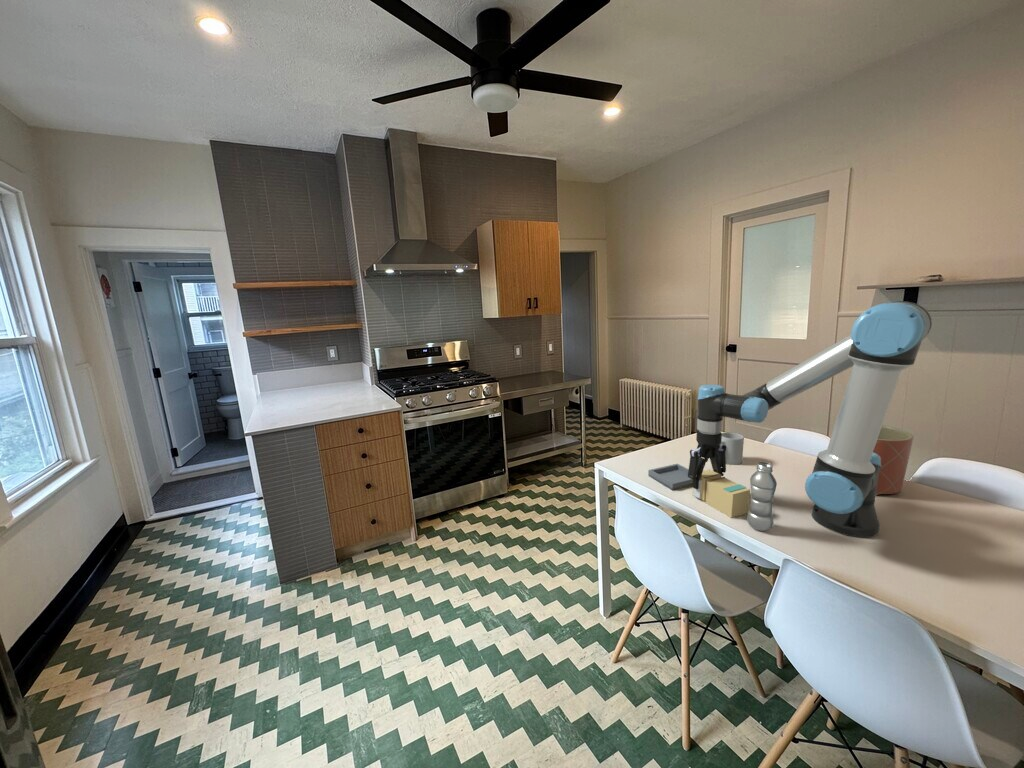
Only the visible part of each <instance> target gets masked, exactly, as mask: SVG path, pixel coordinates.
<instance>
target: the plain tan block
mask: <svg viewBox="0 0 1024 768" xmlns="http://www.w3.org/2000/svg"><path fill="white" fill-rule="evenodd" d="M696 476H697V475H696ZM721 477H722V476H721V474H718V473H716V472H714V471H713V469H703V472H702V475H701V478H700V480H702V491H701V498H700V499H699V500H701V501H703V502H704V501H706V487H707V481H709V480H713V479H717V478H721ZM693 491H694V488H693V487H692V492H693Z"/></svg>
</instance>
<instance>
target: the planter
mask: <svg viewBox="0 0 1024 768" xmlns="http://www.w3.org/2000/svg"><path fill="white" fill-rule="evenodd" d="M913 442H914V435H913V434H912V433H910V432H908V431H906V430H903V429H900V428H897V427H892V426H889V425H882V428H881V430H880V433H879V436H878V439H877V442H876V445H875V447H874V450H873V452H874V453H876V454H878V455H879V456H880V458H881V467H880V470H879V476H878V483H877V489H876V496H878V495H892V494H893V495H894V494H897V493H900V492H902V489H903V485H904V481H905V477H906V472H907V469H908V465H909V464H908V463H909V459H910V455H911V450H912V447H913Z"/></svg>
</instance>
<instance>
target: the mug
mask: <svg viewBox="0 0 1024 768" xmlns="http://www.w3.org/2000/svg"><path fill="white" fill-rule="evenodd" d="M721 433H722V441H721V444H722V445H725V446H726V452H725V456H726V465H732V466H737V465H740V464H742V463H743V457H744V456H743V455H744V454H743V453H744V443H745V437H744V435H742V434H740V433H736V432H721Z"/></svg>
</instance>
